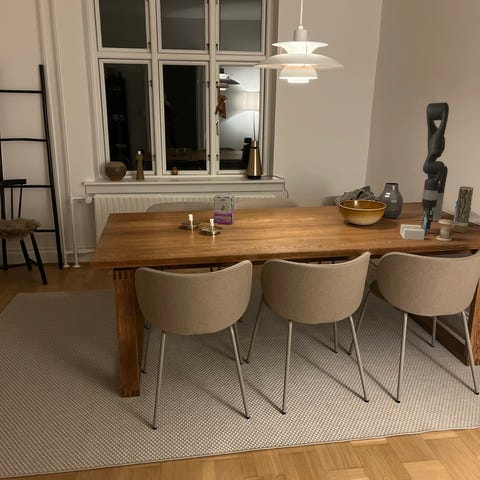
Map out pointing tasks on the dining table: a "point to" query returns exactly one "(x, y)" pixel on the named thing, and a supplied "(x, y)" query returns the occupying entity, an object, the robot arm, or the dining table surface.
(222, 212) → the candy bar box
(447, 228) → the bobbin
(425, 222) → the tab peg
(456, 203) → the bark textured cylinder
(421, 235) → the notched board
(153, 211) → the dining table surface
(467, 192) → the bark textured pillar
